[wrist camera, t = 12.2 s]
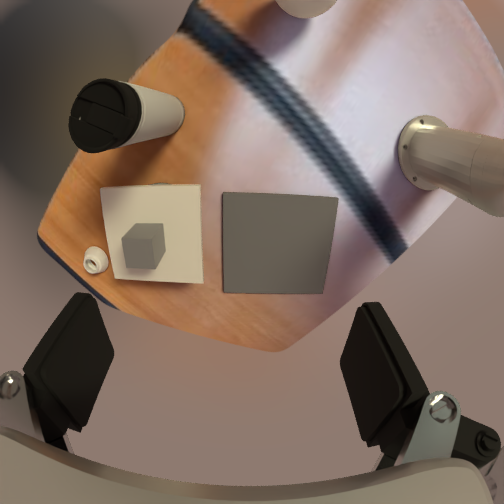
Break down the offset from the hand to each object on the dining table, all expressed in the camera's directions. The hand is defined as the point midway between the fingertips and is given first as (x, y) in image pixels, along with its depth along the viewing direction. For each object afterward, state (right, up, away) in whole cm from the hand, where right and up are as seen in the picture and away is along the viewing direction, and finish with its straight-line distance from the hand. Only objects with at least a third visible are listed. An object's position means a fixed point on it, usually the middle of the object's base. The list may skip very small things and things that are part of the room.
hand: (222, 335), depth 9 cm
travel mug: (-11, +22, +25) cm, 35 cm away
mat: (+5, +4, +34) cm, 35 cm away
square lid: (-13, +5, +27) cm, 30 cm away
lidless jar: (-27, +2, +35) cm, 44 cm away
